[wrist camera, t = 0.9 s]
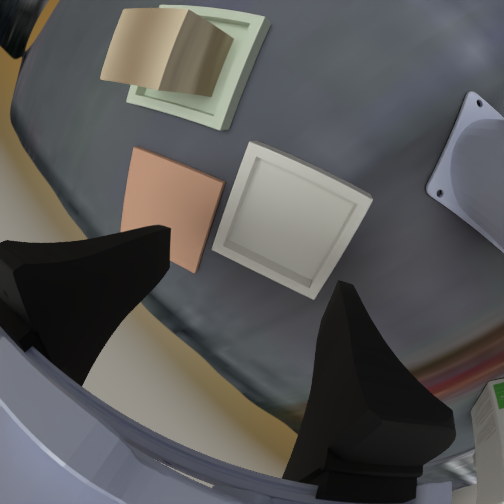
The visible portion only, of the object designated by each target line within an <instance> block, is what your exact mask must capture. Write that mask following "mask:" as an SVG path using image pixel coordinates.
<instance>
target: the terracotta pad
mask: <svg viewBox="0 0 504 504" xmlns="http://www.w3.org/2000/svg"><path fill="white" fill-rule="evenodd" d="M225 183H226V182H225V181H223V180H220V179H218V178H216V177H213V176H211V175H209V174H206V173H204V172H201V171H199V170H197V169H194V168H192V167H189V166H187V165H185V164H182V163H180V162H177V161H175V160H172V159H170V158H167V157H164V156H162V155H159V154H157V153H154V152H152V151H149V150H146V149H144V148H141V147H138V146H137V147H134V148H133V153H132V158H131V163H130V169H129V174H128V180H127V186H126V193H125V199H124V207H123V214H122V223H121V232H124V231H128V230H132V229H137V228H141V227H146V226H151V225H163V226H166V227H169V228H171V242H170V261H172V262H174V263H176V264H178V265H180V266H181V267H183V268H185V269H187V270H189V271H191V272H193V273H196V272H197V270H198V267H199V263H200V260H201V257H202V254H203V250H204V247H205V244H206V241H207V237H208V234H209V231H210V228H211V225H212V222H213V219H214V215H215V212H216V209H217V206H218V203H219V200H220V197H221V194H222V191H223V188H224V185H225Z"/></svg>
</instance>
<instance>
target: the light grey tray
mask: <svg viewBox="0 0 504 504" xmlns="http://www.w3.org/2000/svg"><path fill="white" fill-rule="evenodd" d="M372 201H373V199H372V197H371V194H369V193H368V192H366V191H364V190H362V189H360V188H358V187H356V186H355V185H353V184H351V183H349V182H347V181H345V180H343V179H341V178H339V177H337V176H335V175H333V174H331V173H329V172H327V171H325V170H323V169H321V168H319V167H317V166H315V165H312V164H310V163H308V162H306V161H304V160H302V159H299V158H297V157H295V156H293V155H290V154H288V153H286V152H284V151H281V150H279V149H277V148H274V147H272V146H269V145H267V144H265V143H262V142H260V141H257V140H255V141H250V142H249V144H248V147H247V149H246V152H245V155H244V158H243V160H242V163H241V166H240V168H239V171H238V174H237V177H236V179H235V182H234V185H233V188H232V191H231V194H230V196H229V199H228V202H227V205H226V208H225V211H224V214H223V217H222V220H221V222H220V225H219V228H218V231H217V234H216V237H215V240H214V243H213V246H212V249H211V250H213V251H215V252H217V253H219V254H221V255H223V256H225V257H227V258H229V259H231V260H233V261H235V262H237V263H239V264H241V265H243V266H245V267H247V268H249V269H251V270H253V271H255V272H258V273H260V274H262V275H264V276H266V277H268V278H270V279H272V280H274V281H276V282H278V283H280V284H282V285H284V286H286V287H288V288H290V289H292V290H295V291H297V292H299V293H301V294H303V295H305V296H307V297H309V298H311V299H313V300H314V299H315V297H316V296H317V294H318V293H319V291H320V290H321V288H322V287H323V285H324V283H325V282H326V280H327V279H328V277H329V275H330V274H331V272H332V271H333V269H334V267H335V266H336V264H337V262H338V261H339V259H340V257H341V256H342V254H343V252H344V251H345V249H346V247H347V246H348V244H349V242H350V241H351V239H352V237H353V235H354V234H355V232H356V230H357V228H358V227H359V225H360V223H361V221H362V219H363V218H364V216H365V214H366V212H367V210H368V209H369V207H370V205H371V203H372Z"/></svg>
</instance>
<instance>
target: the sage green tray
mask: <svg viewBox="0 0 504 504" xmlns="http://www.w3.org/2000/svg"><path fill="white" fill-rule="evenodd" d="M159 8H176V9H189V10H191V11H192V12H194V13H196V14H197V15H199V16H201V17H202V18H204V19H205V20H207V21H209V22H210V23H212V24H213V25H215V26H216V27H218V28H219V29H221V30H222V31H224V32H225V33H227V34H228V35H229V36H231V37H232V38H234V40H233V43H232V45H231V47H230V50H229V52H228V55H227V57H226V60H225V62H224V65H223V67H222V70H221V73H220V75H219V78H218V81H217V83H216V86H215V89H214V91H213V94H212V97H208V96H201V95H195V94H187V93H179V92H170V91H159V90H154V89H149V88H145V87H140V86H136V85H131V86H130V90H129V93H128V97H127V101H126V102H128V103H132V104H136V105H140V106H144V107H148V108H151V109H155V110H158V111H162V112H165V113H169V114H172V115H175V116H178V117H182V118H185V119H188V120H191V121H194V122H197V123H200V124H203V125H206V126H209V127H212V128H215V129H217V130H229V128H230V125H231V123H232V120H233V117H234V114H235V112H236V109H237V106H238V104H239V101H240V98H241V96H242V93H243V90H244V88H245V85H246V83H247V80H248V78H249V75H250V73H251V70H252V68H253V65H254V63H255V60H256V58H257V56H258V53H259V51H260V48H261V46H262V44H263V41H264V39H265V37H266V35H267V32H268V30H269V28H270V26H271V24H270V22H269V21H268V20H267V19H266V17H264V16H259V15H255V14H249V13H244V12H238V11H232V10H225V9H217V8H209V7H198V6H183V5H160V6H159Z"/></svg>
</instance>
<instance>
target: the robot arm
mask: <svg viewBox="0 0 504 504" xmlns="http://www.w3.org/2000/svg"><path fill="white" fill-rule="evenodd" d="M477 100H478V101H479V102H480V107H478V105H477ZM438 190H441V192H442V193H441V195H440V196H437V194H436V193H437V191H438ZM426 191H427V193H428V194H429V195H430V196H431V197H433V198H434V199H435V200H437V201H438V202H440V203H441V204H443V205H444V206H445V207H447V208H448V209H450V210H451V211H452V212H454V213H455V214H456V215H458V216H459V217H460V218H462V219H463V220H464V221H466V222H467V223H468V224H470V225H471V226H472V227H473V228H475V229H476V230H477V231H478V232H480V233H481V234H482V235H483V236H484V237H486V238H487V239H488V240H489V241H490V242H492V243H493V244H494V245H495V246H496V247H497V248H498V249H500V250H501V251H502V252H503V253H504V117H502V116H501V115H500V114H499V113H498V112H497V111H496V110H495V109H494V108H493V107H492V106H491V105H489V104H488V103H487V102H486V101H485V100H484V99H482V98H481V97H480V96H479V95H478V94H476V93H475V92H472V91H471V92H468V93H467V94H466V96H465V99H464V102H463V104H462V107H461V110H460V112H459V115H458V117H457V120H456V122H455V125H454V127H453V130H452V132H451V134H450V137H449V139H448V141H447V144H446V146H445V148H444V150H443V152H442V155H441V157H440V159H439V161H438V163H437V165H436V167H435V169H434V171H433V173H432V175H431V177H430V179H429V181H428V183H427V185H426ZM170 242H171V228H169V227H166V226H163V225H151V226H146V227H141V228H137V229H132V230H128V231H124V232H120V233H116V234H111V235H107V236H102V237H98V238H92V239H86V240H80V241H72V242H57V243H28V242H18V241H9V240H7V241H3V242H1V243H0V504H451V501H452V482H451V481H446V482H434V483H425V484H420V485H417V477H420V476H421V475H422V474H423V465H424V464H425V463H427V462H429V461H430V460H432V459H433V458H435V457H437V456H438V455H440V454H441V453H443V452H444V451H445V450H446V449H448V448H449V447H450V445H451V444H452V443H453V441H454V440H455V437H456V431H455V424H454V417H453V411H452V410H451V409H450V408H449V407H448V406H446V405H445V404H444V403H443V402H441V401H440V400H439V399H438V398H436V397H435V396H434V395H433V394H431V393H430V392H429V391H428V390H427V389H426V388H425V387H424V386H423V385H422V384H421V383H420V382H419V381H418V380H417V379H416V378H415V377H414V376H413V375H412V374H411V373H410V372H409V371H408V370H407V369H406V367H405V366H404V365H403V364H402V363H401V362H400V361H399V359H398V358H397V357H396V356H395V354H394V353H393V352H392V350H391V349H390V347H389V346H388V345H387V343H386V342H385V341H384V339H383V338H382V336H381V334H380V333H379V331H378V330H377V328H376V326H375V325H374V323H373V321H372V320H371V318H370V316H369V314H368V312H367V311H366V309H365V307H364V305H363V303H362V301H361V299H360V297H359V295H358V293H357V291H356V289H355V288H354V286H353V285H352V284H349V283H346V282H343V281H339V280H338V282H337V285H336V287H335V290H334V292H333V294H332V297H331V299H330V301H329V304H328V306H327V308H326V311H325V313H324V315H323V317H322V320H321V324H320V329H319V333H318V337H317V344H316V352H315V361H314V370H313V378H312V386H311V391H310V396H309V400H308V403H307V407H306V411H305V414H304V418H303V421H302V424H301V428H300V431H299V434H298V437H297V440H296V443H295V446H294V448H293V451H292V454H291V457H290V459H289V462H288V464H287V467H286V470H285V472H284V474H283V477H282V479H281V478H277V477H273V476H269V475H265V474H261V473H257V472H254V471H251V470H247V469H244V468H241V467H238V466H235V465H232V464H229V463H226V462H223V461H221V460H218V459H215V458H212V457H210V456H207V455H205V454H202V453H200V452H197V451H195V450H193V449H190V448H188V447H185V446H183V445H181V444H179V443H177V442H174V441H172V440H170V439H168V438H166V437H164V436H162V435H160V434H158V433H156V432H154V431H152V430H150V429H149V428H147V427H145V426H143V425H141V424H139V423H138V422H136V421H134V420H132V419H130V418H129V417H127V416H125V415H124V414H122V413H120V412H119V411H117V410H115V409H114V408H112V407H111V406H109V405H108V404H106V403H105V402H103V401H101V400H100V399H98V398H97V397H96V396H94V395H92V394H91V393H90V392H88V391H87V390H85V389H84V388H83V387H82V385H83V383H84V381H85V379H86V377H87V375H88V373H89V371H90V369H91V367H92V366H93V364H94V362H95V360H96V358H97V357H98V355H99V354H100V352H101V350H102V349H103V347H104V346H105V344H106V343H107V341H108V340H109V338H110V337H111V335H112V334H113V333H114V331H115V330H116V328H117V327H118V326H119V325H120V323H121V322H122V321H123V320H124V318H125V317H126V316H127V315H128V314H129V313H130V312H131V311H132V310H133V309H134V308H135V307H136V306H137V305H138V304H139V303H140V302H141V301H142V300H143V299H144V298H145V297H146V296H147V295H148V294H149V293H150V292H151V291H152V290H153V289H154V288H155V286H156V285H157V284H158V283H159V282H160V281H161V279H162V278H163V277H164V275H165V274H166V272H167V271H168V270H169V268H170ZM154 459H155V460H154ZM156 460H157V461H156ZM158 461H159V462H158ZM160 462H161V463H163V464H165V465H167V466H170V467H172V468H174V469H176V470H178V471H181V472H183V473H185V474H187V475H190V476H192V477H194V478H197V479H199V480H202V481H205V482H207V483H210V484H213V485H215V486H213V487H212V488H210V487H208V486H205V485H203V484H201V483H199V482H196V481H194V480H192V479H190V478H188V477H186V476H184V475H182V474H180V473H178V472H176V471H174V470H172V469H170V468H169V467H167V466H165V465H163V464H161V463H160Z"/></svg>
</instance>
